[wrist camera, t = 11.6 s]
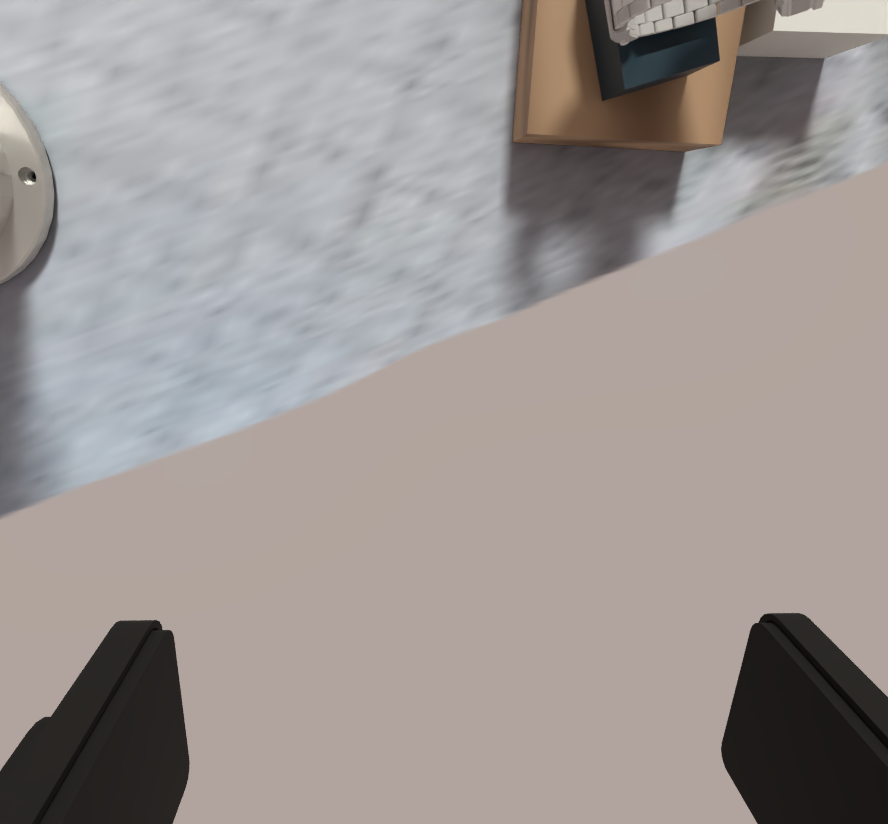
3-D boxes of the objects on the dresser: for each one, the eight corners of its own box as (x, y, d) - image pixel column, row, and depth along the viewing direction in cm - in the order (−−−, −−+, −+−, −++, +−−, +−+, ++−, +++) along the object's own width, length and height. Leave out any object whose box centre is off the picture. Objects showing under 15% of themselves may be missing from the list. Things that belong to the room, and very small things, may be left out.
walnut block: (512, 142, 33) (527, 133, 29) (528, -75, 30) (546, -116, 26) (685, 151, 34) (721, 144, 30) (719, -59, 31) (763, -96, 27)
